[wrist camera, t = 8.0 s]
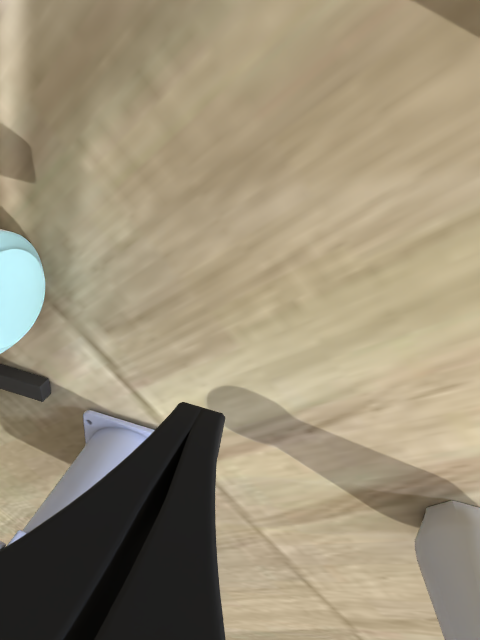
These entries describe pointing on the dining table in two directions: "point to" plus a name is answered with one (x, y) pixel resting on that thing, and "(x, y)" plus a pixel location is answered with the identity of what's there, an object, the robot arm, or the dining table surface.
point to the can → (18, 287)
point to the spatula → (24, 383)
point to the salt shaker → (452, 566)
